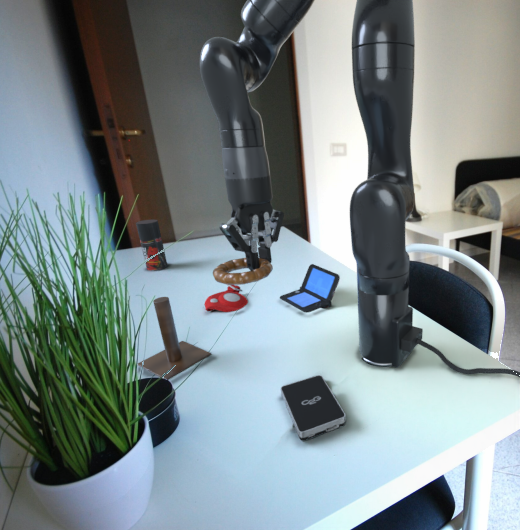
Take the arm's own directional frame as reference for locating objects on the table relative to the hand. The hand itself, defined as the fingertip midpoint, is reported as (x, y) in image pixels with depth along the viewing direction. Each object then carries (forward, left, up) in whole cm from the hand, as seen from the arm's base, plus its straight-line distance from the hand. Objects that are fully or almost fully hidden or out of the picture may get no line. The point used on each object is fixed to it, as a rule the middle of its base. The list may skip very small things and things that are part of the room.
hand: (260, 268), depth 69 cm
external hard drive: (-20, +11, -16) cm, 28 cm away
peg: (+10, +14, -16) cm, 24 cm away
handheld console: (+5, -19, -16) cm, 26 cm away
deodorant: (+65, -15, -16) cm, 69 cm away
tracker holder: (+21, -8, -16) cm, 28 cm away
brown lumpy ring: (0, +4, +1) cm, 4 cm away
